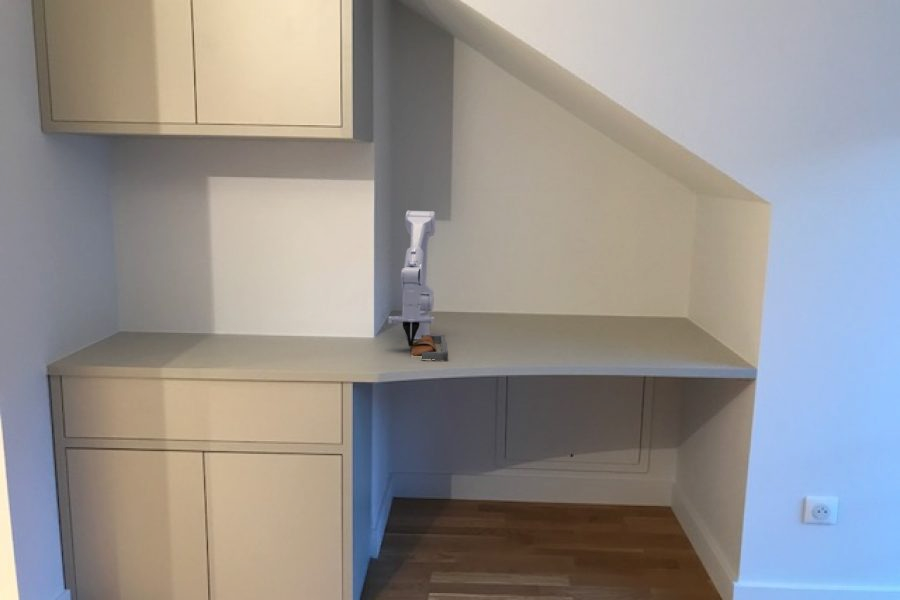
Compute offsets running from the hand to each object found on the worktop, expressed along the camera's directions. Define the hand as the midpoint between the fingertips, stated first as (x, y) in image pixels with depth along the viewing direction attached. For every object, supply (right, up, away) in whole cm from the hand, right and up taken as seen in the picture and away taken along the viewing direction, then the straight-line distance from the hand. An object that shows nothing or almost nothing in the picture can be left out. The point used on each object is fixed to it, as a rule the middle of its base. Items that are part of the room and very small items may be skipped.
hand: (410, 345), depth 228 cm
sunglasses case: (+4, -3, +1) cm, 5 cm away
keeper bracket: (+7, -2, +1) cm, 8 cm away
